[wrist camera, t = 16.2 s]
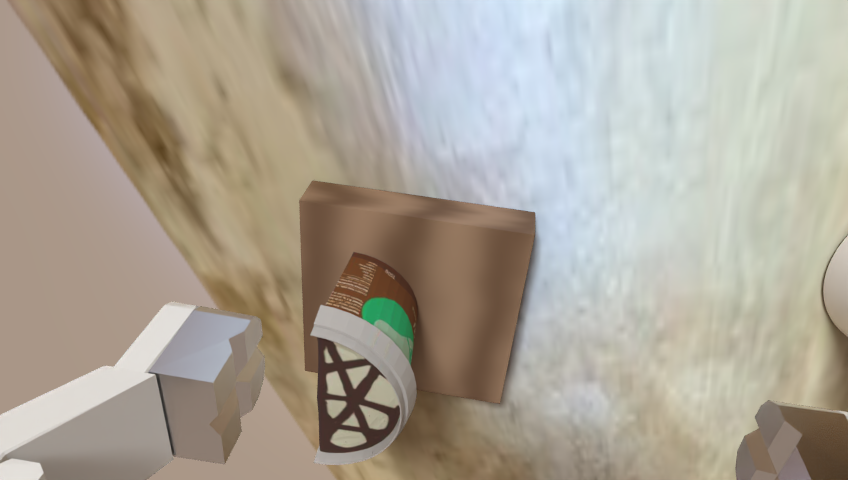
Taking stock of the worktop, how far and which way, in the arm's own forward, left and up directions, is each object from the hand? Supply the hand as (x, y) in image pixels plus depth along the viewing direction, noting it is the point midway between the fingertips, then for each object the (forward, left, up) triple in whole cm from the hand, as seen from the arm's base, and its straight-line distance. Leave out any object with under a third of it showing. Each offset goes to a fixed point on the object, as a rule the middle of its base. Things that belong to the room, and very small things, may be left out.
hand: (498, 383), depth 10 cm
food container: (+6, +22, -28) cm, 36 cm away
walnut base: (+5, +22, -31) cm, 38 cm away
